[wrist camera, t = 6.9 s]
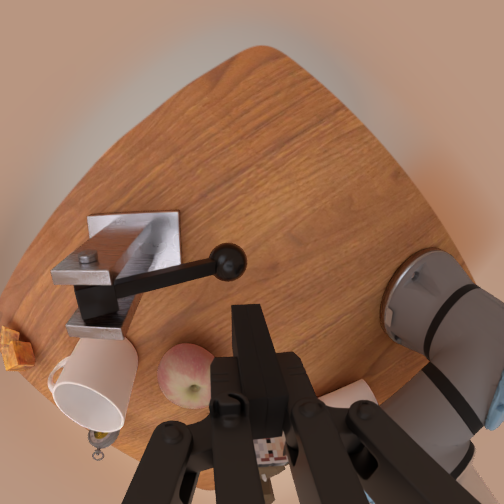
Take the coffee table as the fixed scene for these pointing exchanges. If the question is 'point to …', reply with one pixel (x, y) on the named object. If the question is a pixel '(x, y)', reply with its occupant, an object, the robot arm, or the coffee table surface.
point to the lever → (160, 280)
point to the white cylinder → (349, 395)
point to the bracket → (119, 263)
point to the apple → (186, 375)
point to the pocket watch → (101, 440)
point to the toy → (270, 451)
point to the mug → (96, 383)
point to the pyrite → (16, 351)
